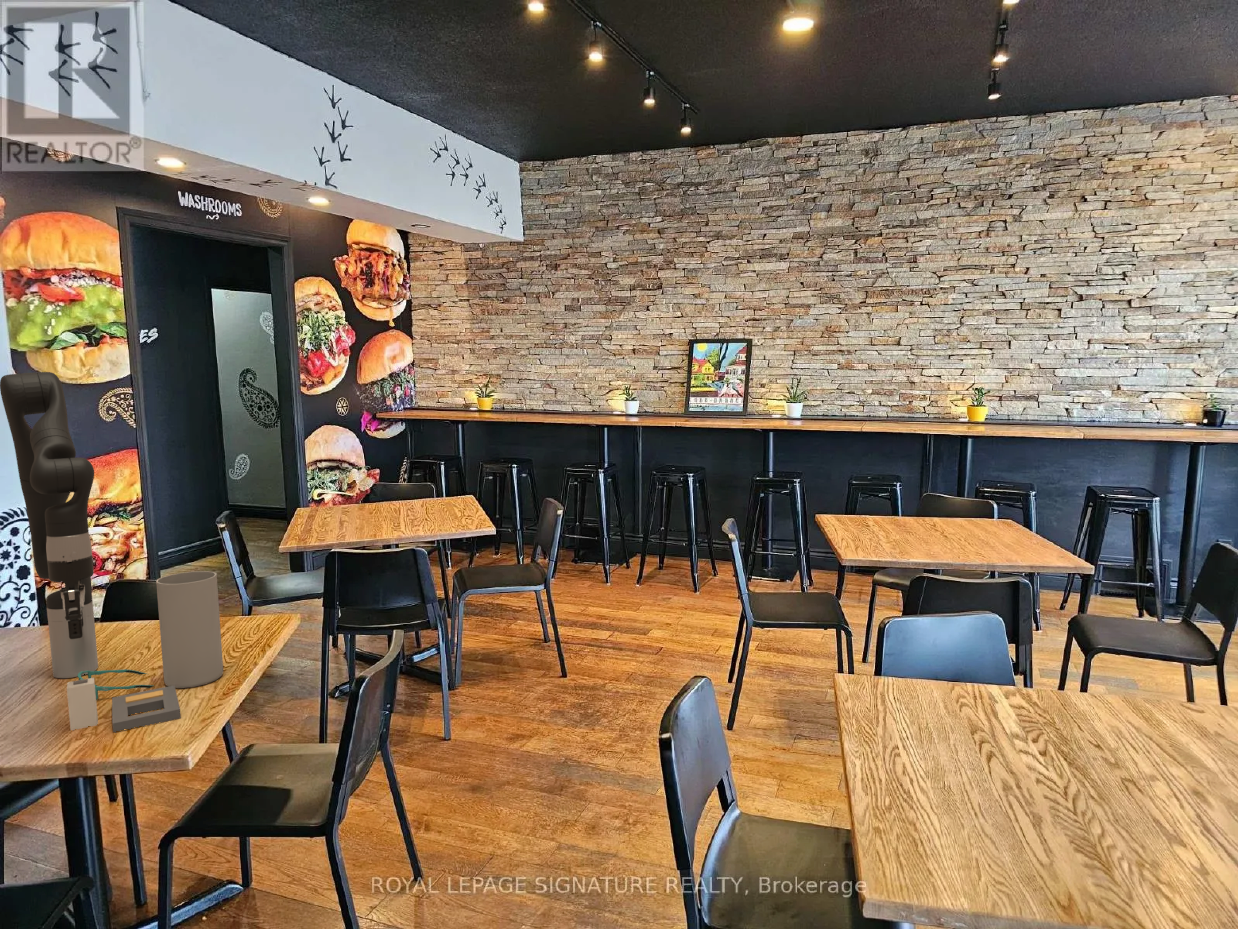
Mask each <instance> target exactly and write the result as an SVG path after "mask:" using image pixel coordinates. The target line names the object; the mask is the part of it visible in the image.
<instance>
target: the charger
mask: <svg viewBox="0 0 1238 929" xmlns="http://www.w3.org/2000/svg"><path fill="white" fill-rule="evenodd" d="M95 683H96V682H95V677H91V678H89V679H88V678H85V679H84V678H83V680H79V679H78V680H72V681H68V682H67V683H66V684H67V685H66V695H67V705H68V706H67V707H68V717H69V727H70V729H69V730H70V731H71V730H72V731H75V729H77V730H81V729H85V728H89V727H88V726H91V727H94V726H98V725H97V724H99V717H98V716H99V715H98V707H97V706H98V705H97V704H98V703H97V700H96V692H95V685H96V684H95Z"/></svg>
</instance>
